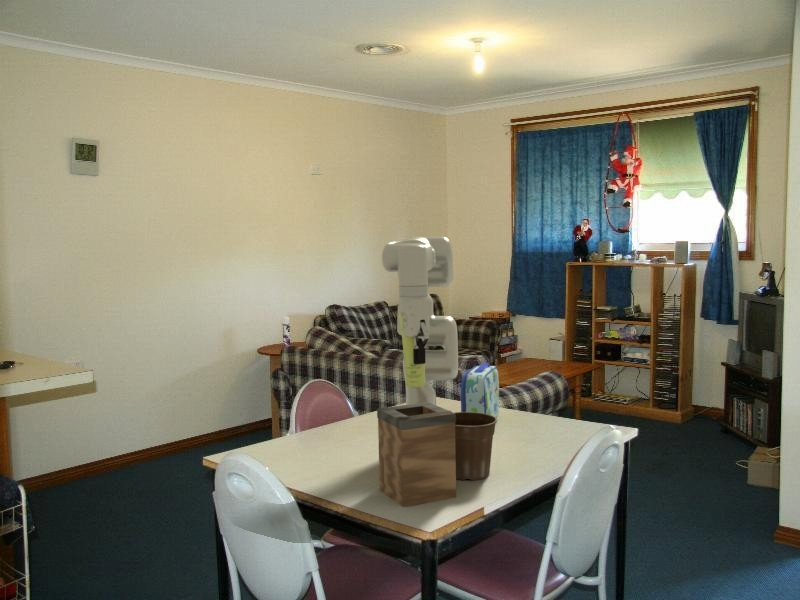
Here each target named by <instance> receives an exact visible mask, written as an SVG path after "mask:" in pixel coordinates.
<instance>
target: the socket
mask: <svg viewBox="0 0 800 600" xmlns="http://www.w3.org/2000/svg"><path fill="white" fill-rule="evenodd" d="M376 413H377V414H376V415H377V417H376V418H377V428H378V429H377V430H378V431H377V432H378V436H377V437H378V473H379V477H378V479H379V490H380V491H382V492H383V493H384V494H386V495H387V496H388V497H390V498H391V499H392V500H394V501H395V502H396V503H398V504H399V505H401V506H402V507H403V508H406V507H411V506H417V505H422V504H426V503H432V502H437V501H442V500H447V499H452V498H457V479H456V453H455V423H456V413H455V412H453V411H452V410H451V411H450V410H448V409H446V408H443V407H441V406H438V405H437V404H436V405H434V404H431V403H429V402H425V403H417V404H409V405H406V404H403V405H401V404H400V405H395V406H387V407H381V408H380V407H379V408H376Z"/></svg>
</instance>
